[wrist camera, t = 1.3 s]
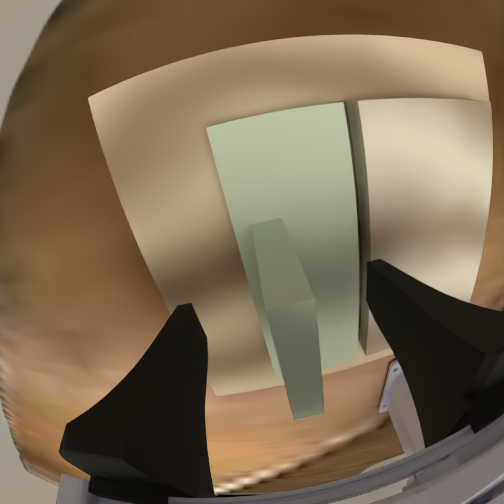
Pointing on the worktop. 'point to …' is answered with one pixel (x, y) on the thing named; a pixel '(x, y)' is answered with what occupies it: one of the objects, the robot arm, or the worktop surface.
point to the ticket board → (363, 161)
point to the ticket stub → (296, 237)
